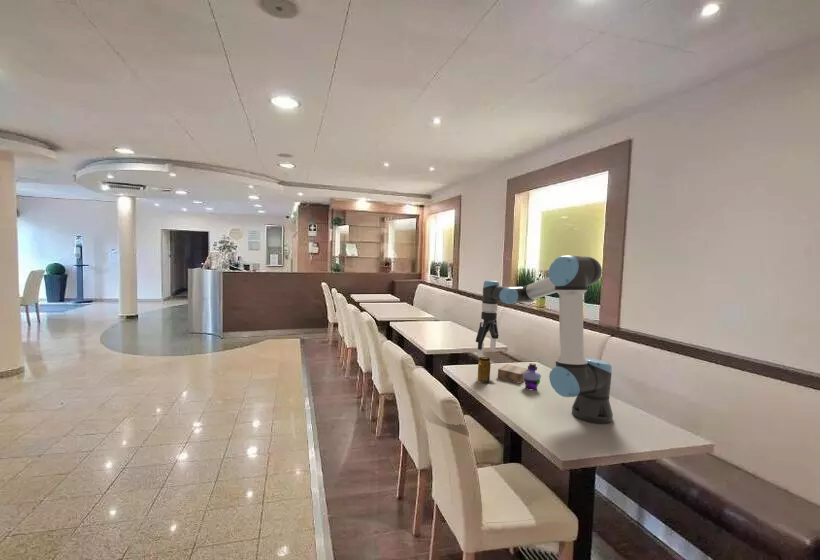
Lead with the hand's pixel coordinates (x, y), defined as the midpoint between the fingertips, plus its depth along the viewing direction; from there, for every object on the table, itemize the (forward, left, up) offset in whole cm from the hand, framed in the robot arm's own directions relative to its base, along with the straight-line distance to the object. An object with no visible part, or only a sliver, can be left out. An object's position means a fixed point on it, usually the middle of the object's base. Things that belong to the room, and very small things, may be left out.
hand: (486, 353), depth 197 cm
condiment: (0, 0, -14) cm, 14 cm away
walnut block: (-8, -16, -15) cm, 23 cm away
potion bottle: (-21, -7, -14) cm, 27 cm away
